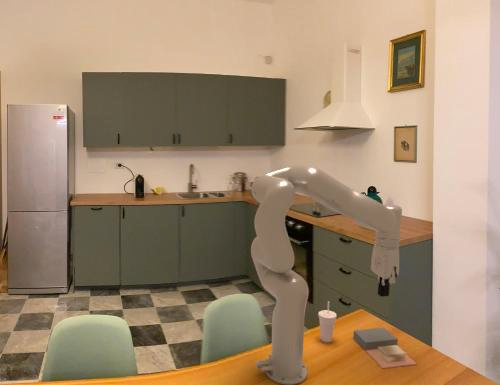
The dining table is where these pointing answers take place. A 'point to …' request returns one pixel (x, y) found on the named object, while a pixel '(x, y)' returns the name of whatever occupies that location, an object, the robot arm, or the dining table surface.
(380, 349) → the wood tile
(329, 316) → the smoothie
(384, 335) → the plate
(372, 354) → the mat
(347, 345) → the dining table surface
